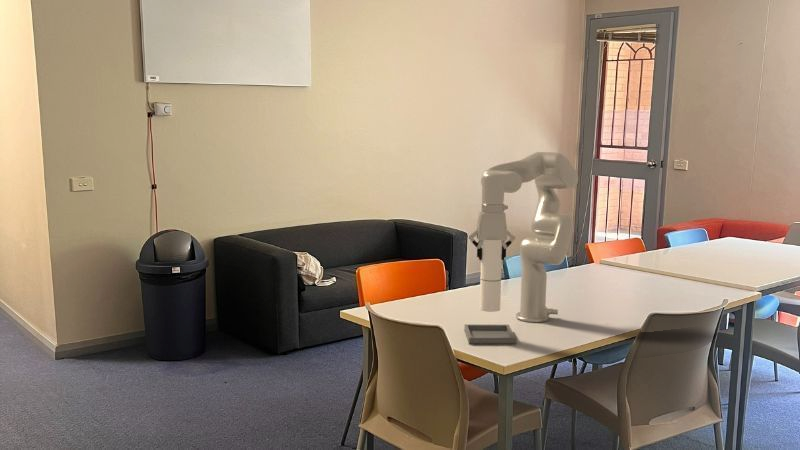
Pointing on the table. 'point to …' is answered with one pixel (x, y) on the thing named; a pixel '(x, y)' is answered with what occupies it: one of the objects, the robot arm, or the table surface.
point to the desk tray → (489, 335)
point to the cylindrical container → (491, 275)
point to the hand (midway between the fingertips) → (491, 259)
